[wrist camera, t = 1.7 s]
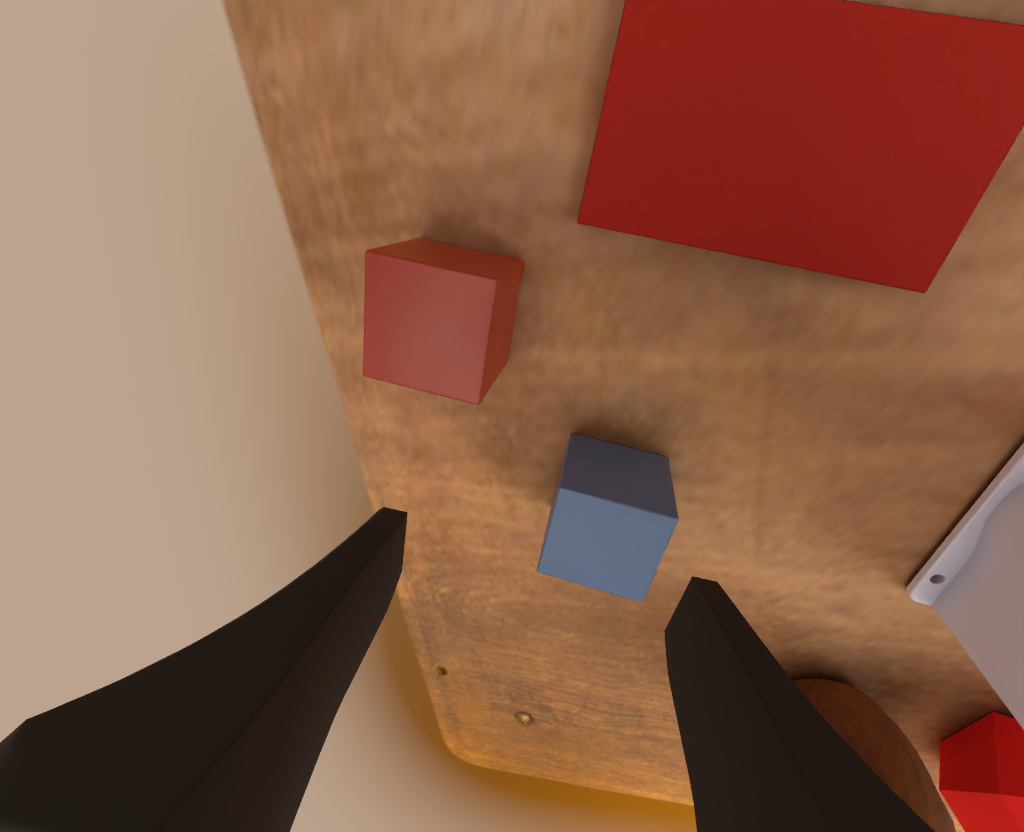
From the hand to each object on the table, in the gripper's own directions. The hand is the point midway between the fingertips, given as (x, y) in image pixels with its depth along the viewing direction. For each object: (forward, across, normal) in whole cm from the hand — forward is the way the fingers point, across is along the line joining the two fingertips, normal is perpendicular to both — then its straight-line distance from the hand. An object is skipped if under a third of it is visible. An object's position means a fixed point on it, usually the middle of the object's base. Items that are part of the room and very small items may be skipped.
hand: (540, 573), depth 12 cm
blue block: (+10, -3, +4) cm, 11 cm away
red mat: (+10, -5, -11) cm, 16 cm away
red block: (+11, +5, -3) cm, 12 cm away
